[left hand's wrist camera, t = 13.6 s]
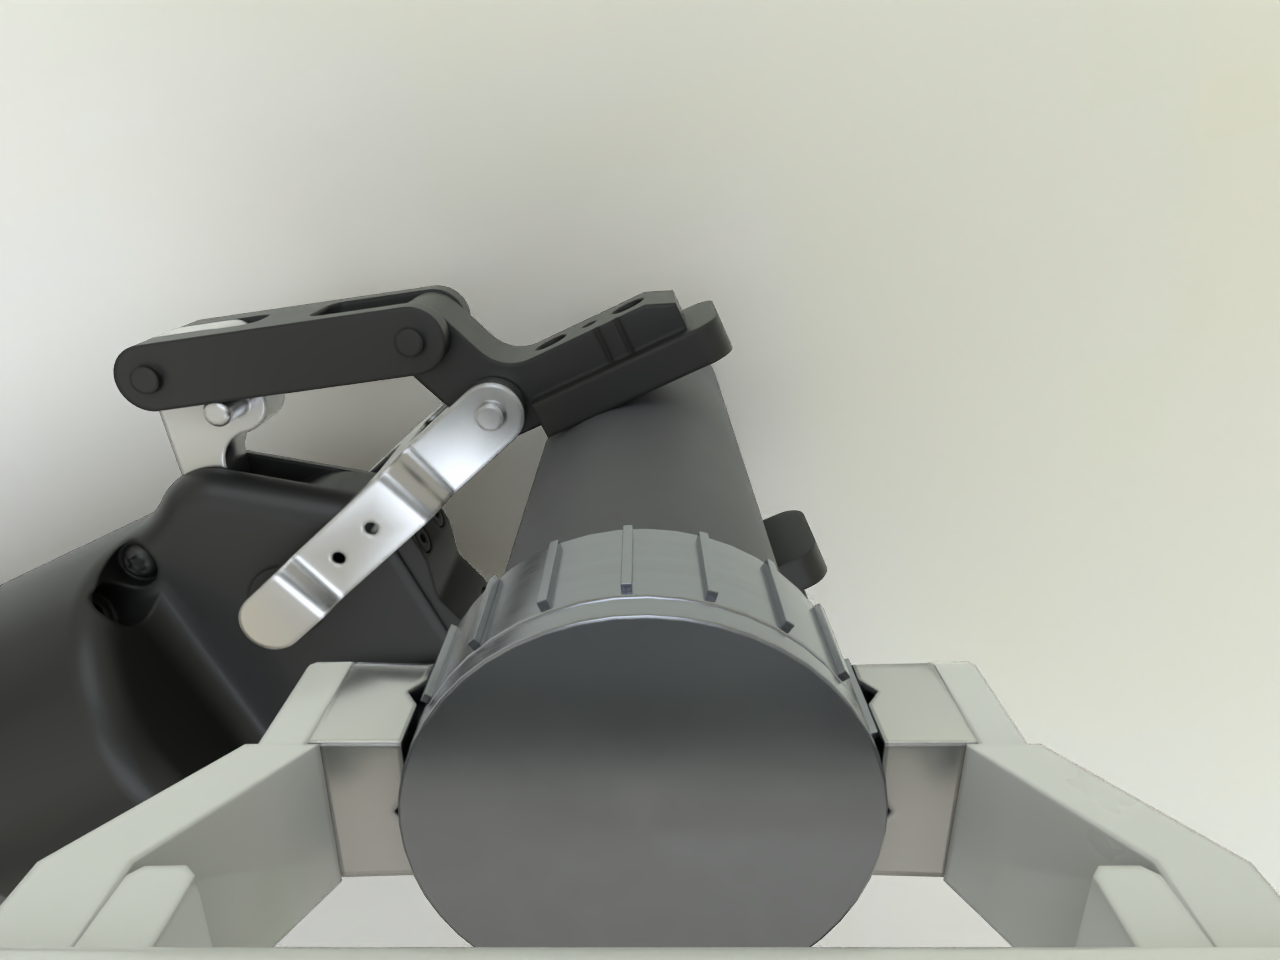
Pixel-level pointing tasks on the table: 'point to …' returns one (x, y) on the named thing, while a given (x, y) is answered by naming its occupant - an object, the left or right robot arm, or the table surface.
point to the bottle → (646, 474)
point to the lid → (643, 755)
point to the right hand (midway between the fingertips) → (765, 437)
